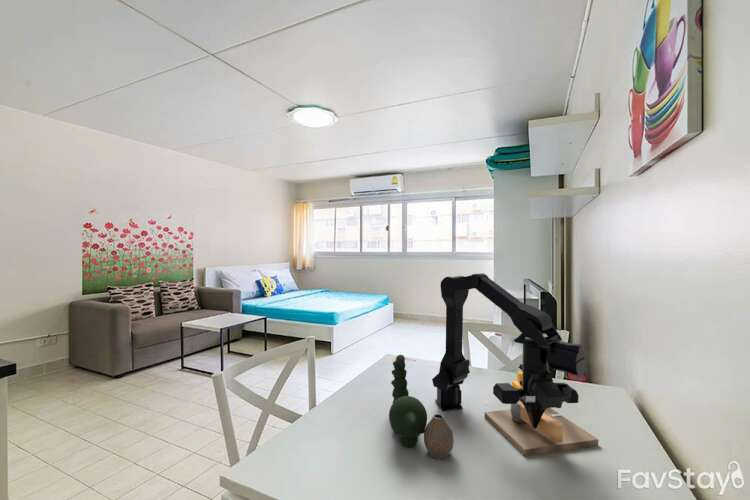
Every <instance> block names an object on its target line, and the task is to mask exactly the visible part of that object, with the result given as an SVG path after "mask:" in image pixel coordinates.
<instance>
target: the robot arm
mask: <svg viewBox="0 0 750 500" xmlns="http://www.w3.org/2000/svg"><path fill="white" fill-rule="evenodd" d="M439 287H440V293H441V298H442V300H443V302H444V304H445V352H444V355H443V357H442V359H441V361H440V364H439V365H440V366H439V370H438V373H437V374H436V375H435V376H434V377H433V378H431V381H432V385H433V387H435V388H436V399H434V402H435V403H436V405H438V407H439V409H440V410H442V411H443V412H444V411H445V412H446V411H452V410H453V411H454V410H461V409H462V410H463V406H462V400H463V399H462V390H461V386H460V385H463V384H464V383H465V382H464V381H465V380H466V379H467V377H468V376H469V374H470V373H471V372H470V363H471V362H470V360H469V359H466V358H465V355H464V354H463V336H464V335H463V327H464V322H463V320H464V305H465V303H466V301H467V298H468V296H469V291H470V290H473V289H475V290H476V291H478V292H479V293H480V294H482V295H483V296H484V297H485V298H486V299H487V300H489V301H490V302H492V303H493V304H494V305H495V306H497V307H498V308H499V309H500V310H502V311H503V312H504V313H505V314H507V316H508V317H509V318H510V319H511V322H512V323H513V326H515V328H516V329H517V330H519V332H520V334H519V335H518V336H517V337H516V338H514V339H513V342H514V343H517V344H522V363H519V368H520V370H521V372H522V380H520V385H521V386H522V388H514V387H513V386H512V383H511V384H510V383H509V382H499V383H497V382H496V383H495V384H494V386H493V389H492V390H493V391H492V394H493V395H494V397H496V399H498V401H499V402H500V403H501V404H505V405H511V404H516V403H517V402H518V401H519V400H520V401H521V402H522V403H523V405H524V407H525V409H526V412H527V414H528V417H529V419H530V422H531V424H532V427H533V428H534V429H536V428H537V426H538V424H539V422H540V419H541V417H542V415H543V413H544V411H545V410H546V409H547V408H551V409H554V408H555V409H561V408H562V405H563V403H566V404H579V402H580V401H579V398H580V397H579V395H580V394H579V393H578V391H577V390H576V389H574V388H573V387H572V386H570V385H569V384H568V383H565V382H554V380H553V374H552V371H550V370H549V367H551V370H554V371H558V372H561V373H566V374H569V375H573V376H576V377H582V376H583V375H584V374H585V371H586V368H587V357H586V353H585V351H584V350H583V345H582V344H581V343H580V344H579V343H570V342H565V341H563V338H562V337H561V334H560V333H559V332H558V331H557V329H556V327H555V326H554V325H553V321H552V318H551V316H550V315H549V313H546V312H545V311H543V310H541V309H539V308H537V307H536V306H533V305H529V304H527V303H524V302H522V301H520V300H519V299H518V298H516V297H515V296H514V295H513V294H511V293H509V292H508V291H507V290H506V289H505V288H503V287H502V286H501V285H499V284H498V283H496V282H495V281H493V280H492V279H491V278H490V277H489V276H488V275H487V274H486V273H482V272H481V273H479V272H478V273H473V274H471V275H466V276H463V275H453V276H445V277H444V278H443V279H442V280H440V286H439ZM544 335H546V336H544Z"/></svg>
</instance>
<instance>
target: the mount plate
mask: <svg viewBox="0 0 750 500" xmlns="http://www.w3.org/2000/svg"><path fill="white" fill-rule="evenodd" d="M544 414H546V415H547V416H549V417H551V418H552V419H554V420H555V421H557V422H560V423H561V424H562V425H563V441H562V442H554V441H552V440H550V439H549V438H548V437H547V436H545V435H544V434H542V433H541V432H539V431H538V430H537V429H534V428H533V427H532V426H531V425H529V424H528V423H526V422H525V421H523V420H522V419H520V418H516V417H514V416H512V415H511V408H510V409H502V410H501V409H500V410H492V411H485V412H484V418H485V420H487V422H488V423H489V424H491V425H492V426H493V427H494V428H495V429H496V430H497V431H498V432H499V433H500V434H501V435H502V436H503V437H504V438H505V439H506V441H507V440H508V442H509V443H511V445H513V447H515V448H516V449H517V450H518V451H519V452H520V454H522V455H523V456H524V457H526V456H534V455H541V454H547V453H548V454H549V453H554V452H555V453H556V452H561V451H562V452H563V451H570V450H576V449H577V450H578V449H583V448H592V447H596V446H599V438H597V437H596V436H594V435H592V434H591V433H589V432H588V431H586V430H585V429H583V428H582V427H581V426H579V425H577V424H576V423H574V422H573V421H571V420H569V419H568V418H566V417H565V416H563V415H562V414H561V413H559V412H557V411H556V410H554V408H547V409H546V410H545V411H544Z"/></svg>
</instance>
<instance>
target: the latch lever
mask: <svg viewBox="0 0 750 500" xmlns="http://www.w3.org/2000/svg"><path fill="white" fill-rule="evenodd" d="M510 409H511V415H512V416H514V417H516V418H520V419H522V420H523V421H525V422H526V423H528V424H529V425H531V426H532V424H531V422H530V419H529V417H528V414H527V412H526V409H525V407H524V405H523V403H522V402H521V401H520V400H519V401H518V402H517V403H516V404H510ZM536 429H537V430H538V431H539V432H541V433H542V434H544V435H545V436H547V437H548V438H549V439H550V440H552V441H554V442H562V441H563V425H562V424H561V423H560V422H557V421H555V420H554V419H552V418H551V417H549V416H547V415H546V414H544V413H543V415H542V417H541V419H540V422H539V424H538V426H537V428H536Z"/></svg>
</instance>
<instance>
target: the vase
mask: <svg viewBox="0 0 750 500" xmlns="http://www.w3.org/2000/svg"><path fill="white" fill-rule="evenodd" d="M423 444H424V447H425V449H426V451H427V453H428V454H429V455H430V456H431V457H433V458H435V459H445V458H447V457H448V456H449V455H450V454H451V453H452V451H453V447H454V433H453V430H452V428H451V426H450V424H449V423H448V422H447V420H446V419H445V417H444V415H443V414H442V413H436V414H433V416H432V418H431V419H430V420H429V422H427V424H426V427H425V431H424V433H423Z"/></svg>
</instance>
